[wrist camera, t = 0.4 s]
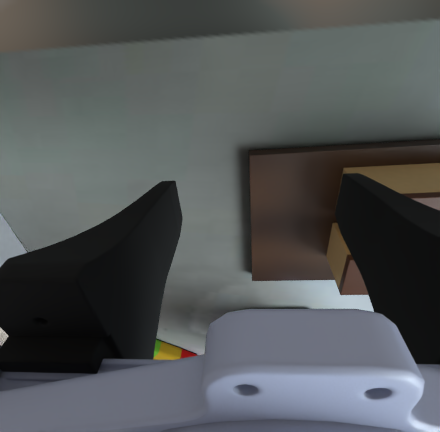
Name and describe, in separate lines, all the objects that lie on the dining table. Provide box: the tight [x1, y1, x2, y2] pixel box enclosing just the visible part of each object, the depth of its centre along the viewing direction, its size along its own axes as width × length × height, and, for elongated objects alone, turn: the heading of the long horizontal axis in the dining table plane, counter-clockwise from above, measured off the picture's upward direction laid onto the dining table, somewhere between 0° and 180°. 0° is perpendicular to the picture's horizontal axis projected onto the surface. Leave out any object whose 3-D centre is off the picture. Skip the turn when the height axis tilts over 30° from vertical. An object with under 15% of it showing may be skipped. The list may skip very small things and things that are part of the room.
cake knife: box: [0, 213, 27, 267], centre depth 27 cm, size 19×2×4 cm, turn 5°
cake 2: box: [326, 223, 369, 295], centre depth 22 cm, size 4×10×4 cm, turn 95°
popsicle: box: [153, 339, 198, 360], centre depth 39 cm, size 6×15×2 cm, turn 58°
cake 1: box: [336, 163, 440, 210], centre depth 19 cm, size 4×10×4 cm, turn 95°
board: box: [249, 139, 440, 281], centre depth 24 cm, size 14×18×1 cm
